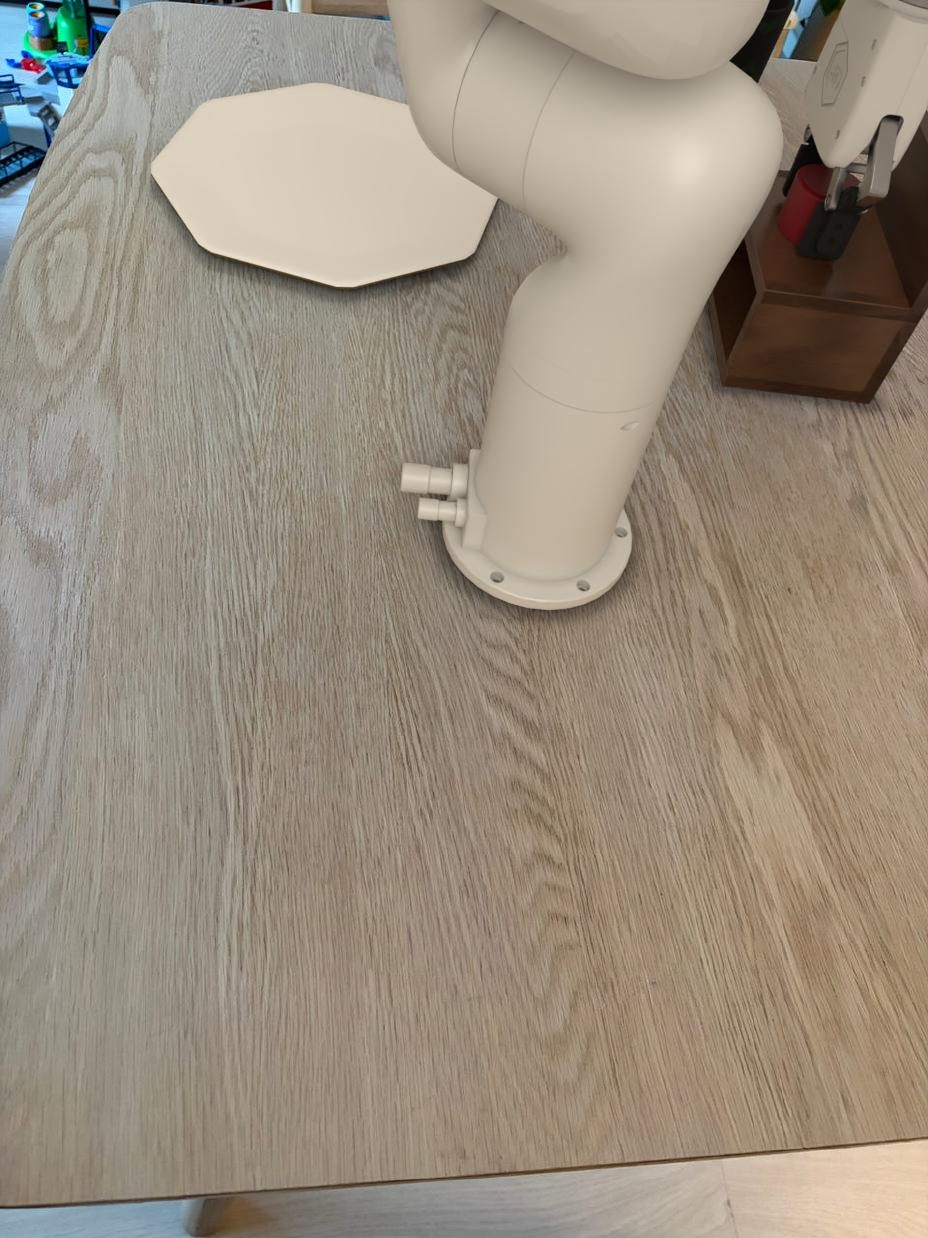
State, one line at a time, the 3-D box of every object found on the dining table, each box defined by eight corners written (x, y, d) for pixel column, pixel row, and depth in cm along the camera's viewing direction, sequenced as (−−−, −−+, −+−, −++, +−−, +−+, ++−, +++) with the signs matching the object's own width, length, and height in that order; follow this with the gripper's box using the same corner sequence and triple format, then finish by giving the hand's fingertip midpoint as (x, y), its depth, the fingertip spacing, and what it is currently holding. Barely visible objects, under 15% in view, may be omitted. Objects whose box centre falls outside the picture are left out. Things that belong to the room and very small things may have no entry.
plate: (521, 150, 95) (524, 134, 94) (444, 331, 79) (447, 315, 78) (237, 73, 96) (237, 57, 95) (105, 237, 80) (102, 220, 79)
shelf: (722, 386, 80) (804, 200, 67) (699, 259, 89) (767, 74, 76) (869, 403, 81) (979, 224, 68) (831, 277, 90) (922, 97, 77)
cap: (782, 246, 76) (804, 197, 72) (771, 205, 79) (791, 156, 75) (849, 255, 76) (874, 207, 73) (836, 214, 79) (859, 165, 76)
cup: (662, 98, 104) (699, -30, 94) (728, 96, 106) (771, -30, 96) (693, 141, 100) (735, 11, 90) (761, 137, 102) (810, 11, 92)
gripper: (841, -103, 67) (745, 154, 82) (901, 25, 57) (778, 292, 72) (950, -85, 68) (835, 167, 82) (1027, 45, 58) (881, 305, 72)
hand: (810, 223), depth 77 cm, fingers open, 6 cm apart
